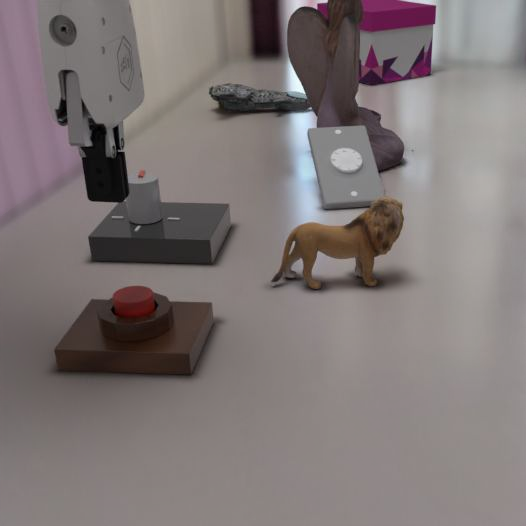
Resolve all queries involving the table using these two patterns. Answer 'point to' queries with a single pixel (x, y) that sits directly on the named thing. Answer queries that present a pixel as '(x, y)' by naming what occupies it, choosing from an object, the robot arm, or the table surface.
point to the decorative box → (394, 40)
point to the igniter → (136, 338)
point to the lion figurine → (345, 241)
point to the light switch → (345, 166)
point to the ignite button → (133, 302)
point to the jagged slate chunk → (256, 98)
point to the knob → (144, 198)
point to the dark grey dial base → (163, 235)
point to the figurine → (337, 73)
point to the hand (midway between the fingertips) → (109, 198)
